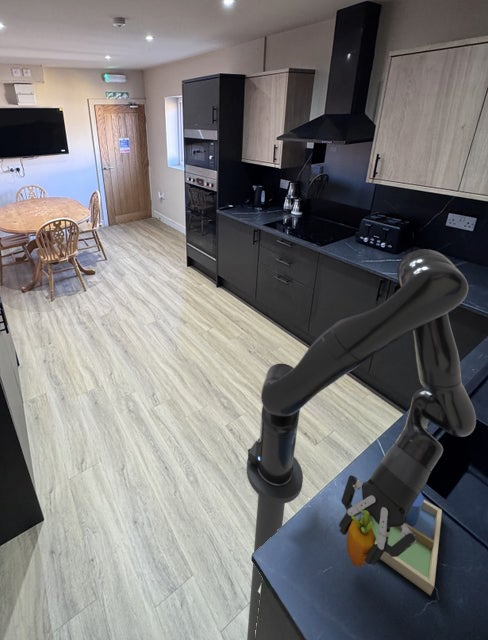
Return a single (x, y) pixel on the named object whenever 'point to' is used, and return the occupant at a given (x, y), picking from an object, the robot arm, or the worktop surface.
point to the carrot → (360, 539)
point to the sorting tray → (417, 548)
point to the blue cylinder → (415, 511)
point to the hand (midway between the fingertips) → (354, 546)
